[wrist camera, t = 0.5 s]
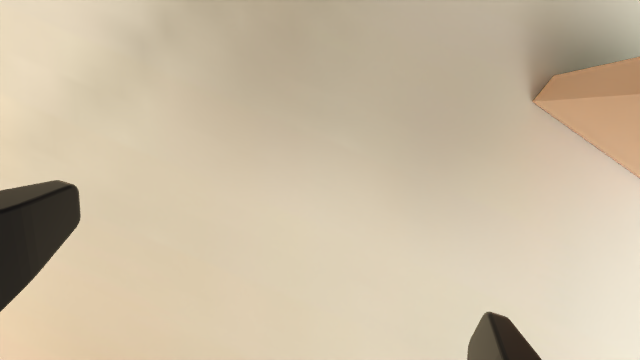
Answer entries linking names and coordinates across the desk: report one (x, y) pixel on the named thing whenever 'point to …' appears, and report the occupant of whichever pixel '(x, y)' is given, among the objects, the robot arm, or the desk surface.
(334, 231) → the desk surface
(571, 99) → the glazed tile
